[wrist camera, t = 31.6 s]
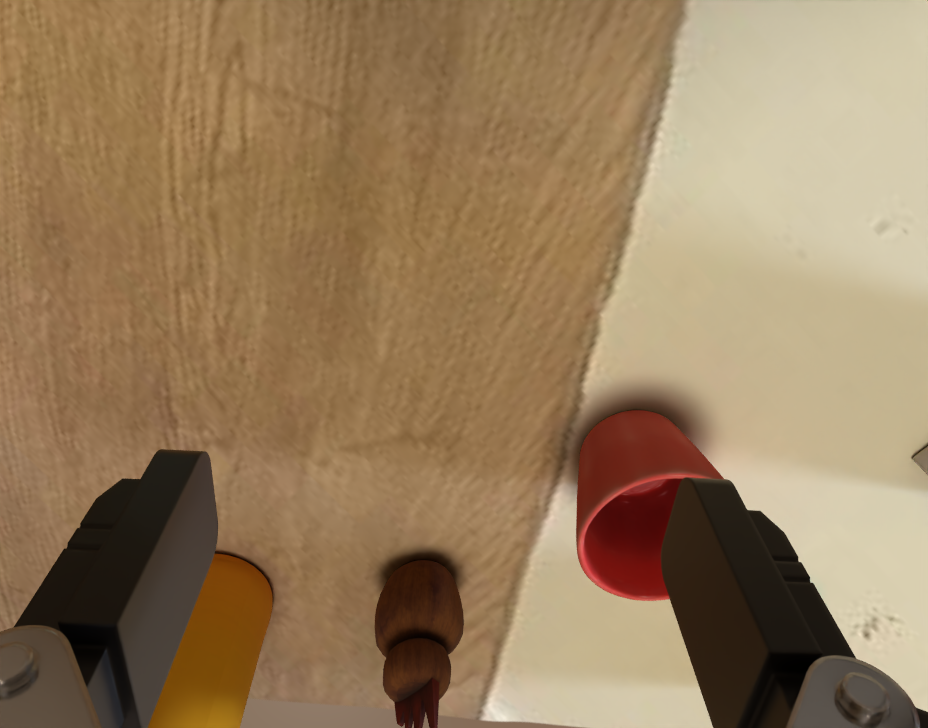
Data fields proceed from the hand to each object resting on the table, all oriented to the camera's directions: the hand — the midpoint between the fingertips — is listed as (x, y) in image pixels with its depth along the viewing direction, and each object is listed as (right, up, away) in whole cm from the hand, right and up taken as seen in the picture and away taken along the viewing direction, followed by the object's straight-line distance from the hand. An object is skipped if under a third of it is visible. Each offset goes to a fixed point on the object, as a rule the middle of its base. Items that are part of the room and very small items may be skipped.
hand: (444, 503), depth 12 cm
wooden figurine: (-3, -15, +48) cm, 51 cm away
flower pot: (+13, -4, +42) cm, 44 cm away
